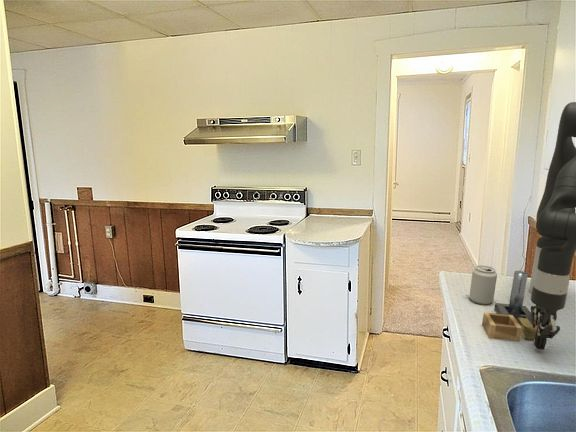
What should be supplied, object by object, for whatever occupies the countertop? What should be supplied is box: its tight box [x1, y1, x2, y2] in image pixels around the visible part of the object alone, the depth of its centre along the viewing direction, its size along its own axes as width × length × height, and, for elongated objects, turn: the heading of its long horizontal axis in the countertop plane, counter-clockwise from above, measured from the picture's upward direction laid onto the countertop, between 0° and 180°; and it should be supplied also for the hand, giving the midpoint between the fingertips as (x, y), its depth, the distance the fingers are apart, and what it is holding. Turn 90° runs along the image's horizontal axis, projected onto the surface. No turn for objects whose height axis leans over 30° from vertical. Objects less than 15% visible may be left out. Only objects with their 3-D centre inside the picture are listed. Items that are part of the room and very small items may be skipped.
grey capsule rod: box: [508, 270, 529, 314], centre depth 126 cm, size 4×4×15 cm
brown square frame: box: [481, 311, 522, 342], centre depth 119 cm, size 8×8×4 cm
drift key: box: [517, 318, 536, 341], centre depth 118 cm, size 7×3×4 cm, turn 169°
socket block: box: [493, 302, 532, 324], centre depth 128 cm, size 9×9×2 cm
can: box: [468, 264, 498, 306], centre depth 139 cm, size 8×8×12 cm
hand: (539, 347), depth 109 cm, fingers closed
